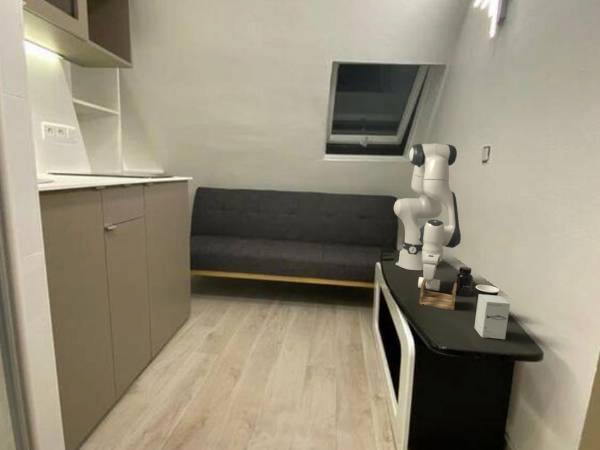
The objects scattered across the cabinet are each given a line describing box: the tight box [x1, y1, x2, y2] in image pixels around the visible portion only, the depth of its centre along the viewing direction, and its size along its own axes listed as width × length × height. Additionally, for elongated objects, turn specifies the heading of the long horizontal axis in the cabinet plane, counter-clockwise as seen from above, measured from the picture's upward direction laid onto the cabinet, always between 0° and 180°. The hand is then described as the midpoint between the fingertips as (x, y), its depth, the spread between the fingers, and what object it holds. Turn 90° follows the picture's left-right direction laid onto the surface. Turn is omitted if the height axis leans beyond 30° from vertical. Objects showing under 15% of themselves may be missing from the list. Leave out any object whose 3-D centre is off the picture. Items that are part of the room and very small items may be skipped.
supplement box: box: [474, 294, 511, 340], centre depth 115 cm, size 7×7×13 cm
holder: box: [418, 277, 457, 311], centre depth 141 cm, size 13×10×8 cm
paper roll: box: [417, 276, 441, 292], centre depth 159 cm, size 9×5×5 cm, turn 64°
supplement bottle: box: [454, 266, 474, 297], centre depth 153 cm, size 7×7×12 cm
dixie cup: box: [475, 284, 500, 312], centre depth 130 cm, size 8×8×11 cm
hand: (429, 284), depth 159 cm, fingers open, 6 cm apart
